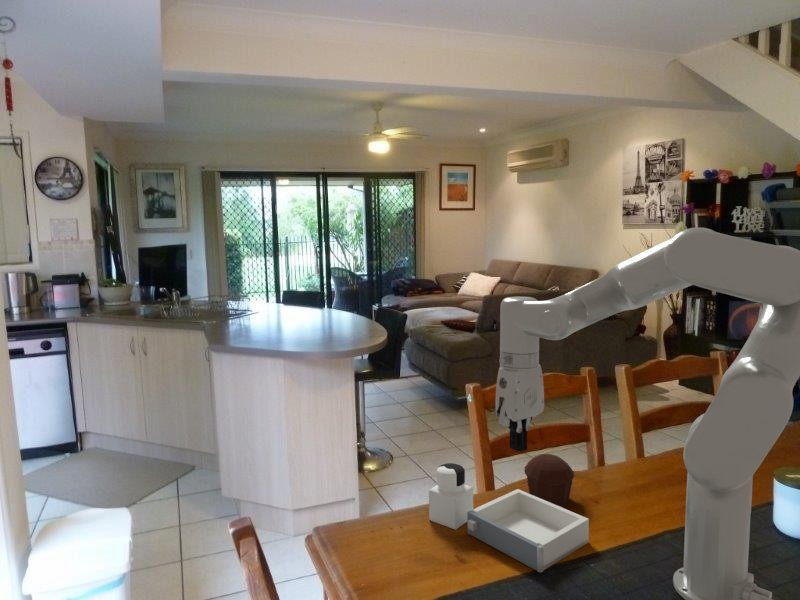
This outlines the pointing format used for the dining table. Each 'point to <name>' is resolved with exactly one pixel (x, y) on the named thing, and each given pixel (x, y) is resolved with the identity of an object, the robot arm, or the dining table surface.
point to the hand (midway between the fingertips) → (518, 449)
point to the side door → (506, 541)
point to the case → (539, 523)
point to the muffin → (549, 478)
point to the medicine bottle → (450, 497)
